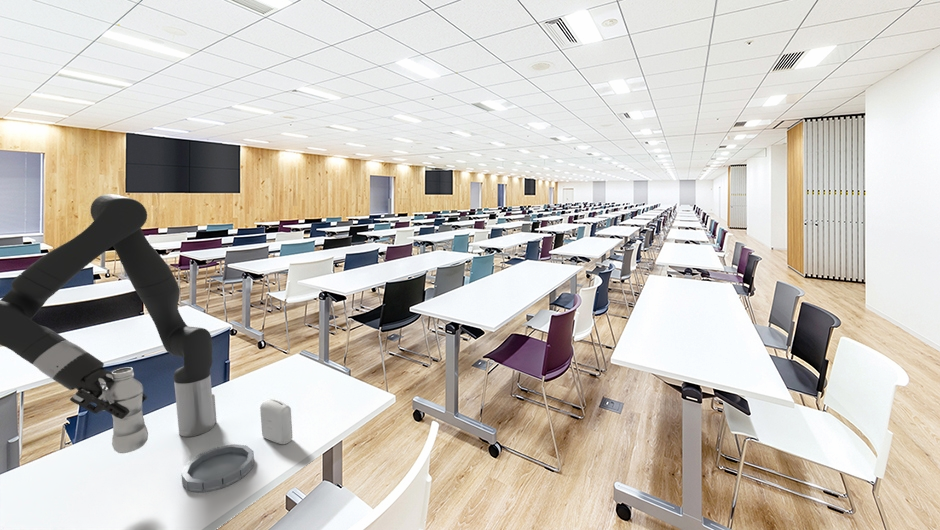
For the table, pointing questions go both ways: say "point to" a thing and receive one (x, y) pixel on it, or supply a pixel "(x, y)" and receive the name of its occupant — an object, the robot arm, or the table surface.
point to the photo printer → (276, 421)
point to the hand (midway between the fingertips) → (135, 407)
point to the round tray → (217, 468)
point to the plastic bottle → (132, 427)
